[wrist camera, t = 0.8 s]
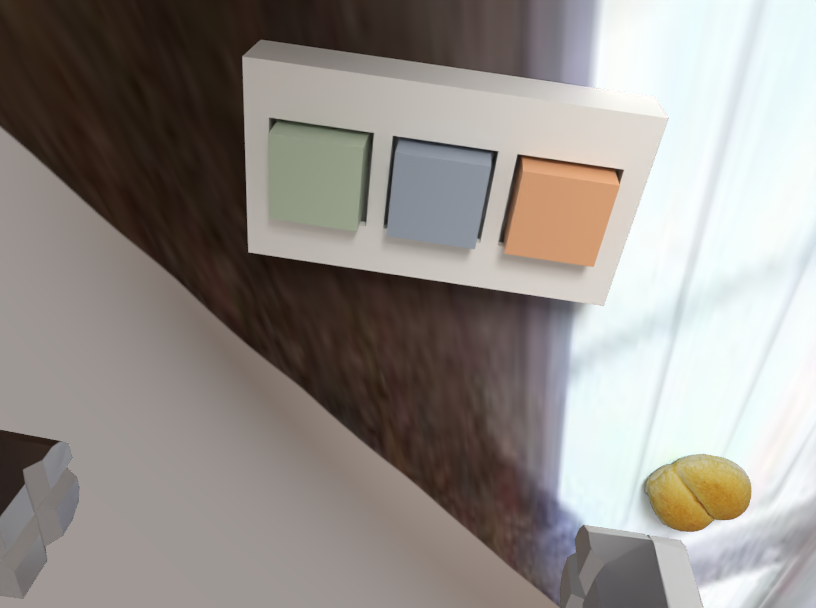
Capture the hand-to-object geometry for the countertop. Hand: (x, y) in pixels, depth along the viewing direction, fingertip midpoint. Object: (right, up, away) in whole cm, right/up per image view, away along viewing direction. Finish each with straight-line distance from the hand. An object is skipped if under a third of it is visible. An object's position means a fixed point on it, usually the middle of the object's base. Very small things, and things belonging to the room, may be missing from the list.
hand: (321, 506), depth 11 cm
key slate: (+4, +12, +35) cm, 37 cm away
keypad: (+4, +13, +38) cm, 40 cm away
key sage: (-4, +13, +36) cm, 38 cm away
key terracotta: (+11, +10, +35) cm, 38 cm away
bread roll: (+28, -14, +54) cm, 62 cm away
